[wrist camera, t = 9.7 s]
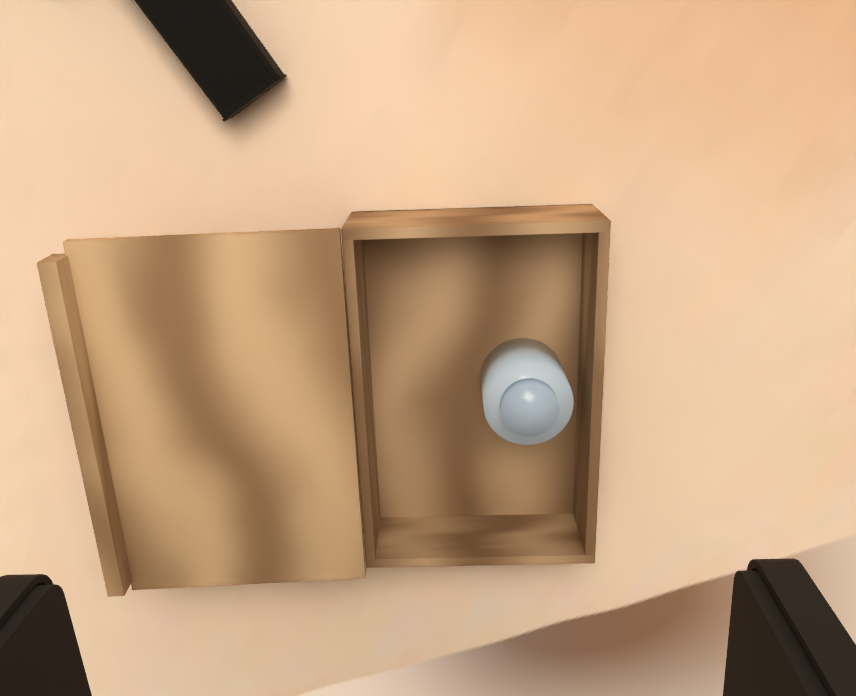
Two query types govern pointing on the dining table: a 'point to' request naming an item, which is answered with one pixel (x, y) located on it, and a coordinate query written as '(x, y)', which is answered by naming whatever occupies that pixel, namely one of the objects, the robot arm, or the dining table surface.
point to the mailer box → (473, 380)
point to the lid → (211, 405)
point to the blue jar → (525, 392)
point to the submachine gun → (216, 50)
